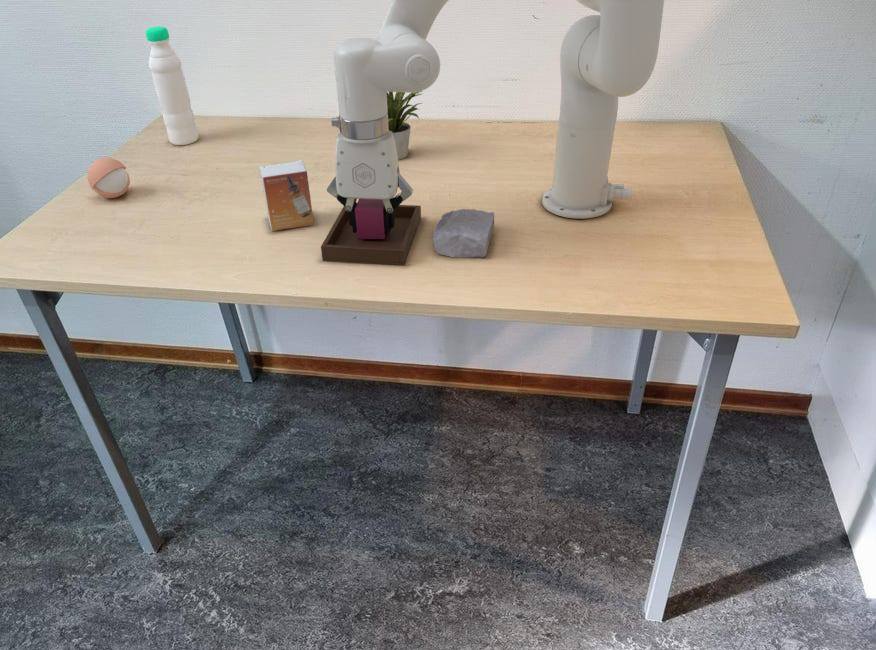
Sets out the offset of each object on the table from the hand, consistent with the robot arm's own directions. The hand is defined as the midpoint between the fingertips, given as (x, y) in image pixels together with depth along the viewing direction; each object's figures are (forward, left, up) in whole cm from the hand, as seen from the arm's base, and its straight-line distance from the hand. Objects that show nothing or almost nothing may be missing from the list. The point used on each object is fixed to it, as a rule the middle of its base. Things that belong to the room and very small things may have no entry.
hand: (372, 229), depth 115 cm
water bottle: (+57, -44, -2) cm, 72 cm away
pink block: (0, 0, -1) cm, 1 cm away
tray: (0, 0, -2) cm, 2 cm away
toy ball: (+58, -13, -2) cm, 59 cm away
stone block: (-16, -1, -2) cm, 16 cm away
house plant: (+3, -37, -2) cm, 37 cm away
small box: (+17, -5, -2) cm, 18 cm away
